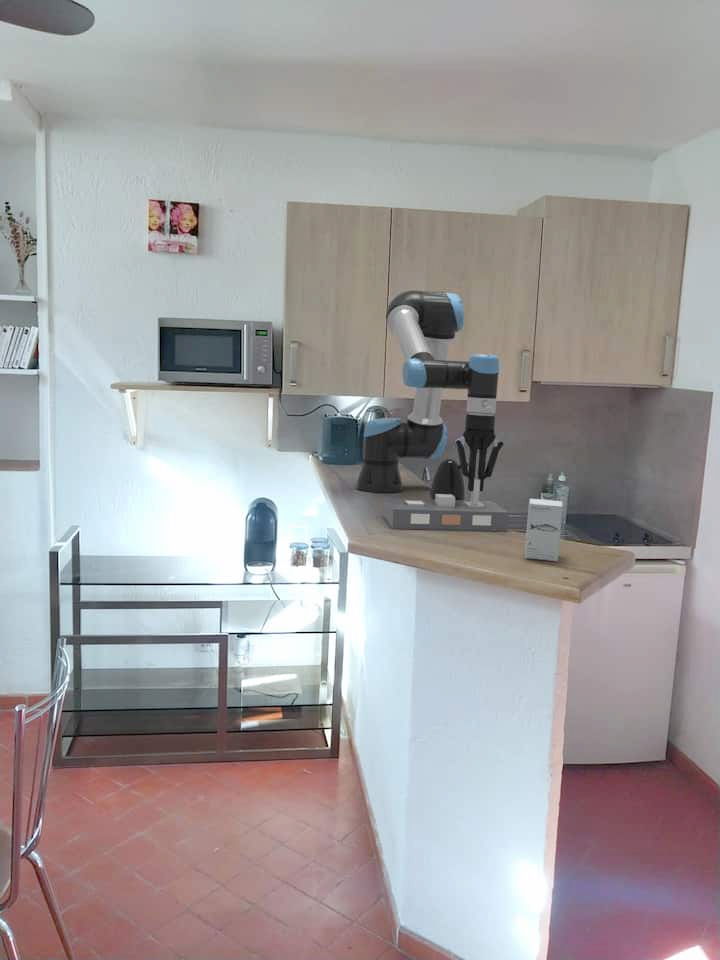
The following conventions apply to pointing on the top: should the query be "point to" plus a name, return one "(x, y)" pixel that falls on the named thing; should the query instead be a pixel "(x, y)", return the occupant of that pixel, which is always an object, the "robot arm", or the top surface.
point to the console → (444, 516)
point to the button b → (444, 500)
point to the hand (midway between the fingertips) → (474, 503)
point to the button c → (474, 505)
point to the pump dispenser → (449, 480)
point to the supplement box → (543, 529)
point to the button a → (414, 503)
